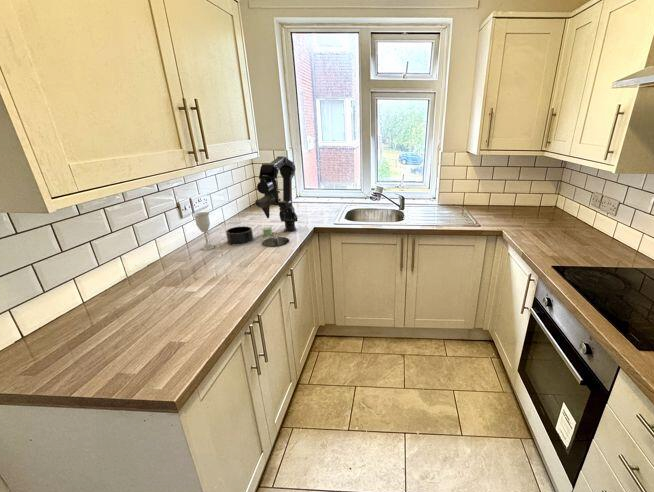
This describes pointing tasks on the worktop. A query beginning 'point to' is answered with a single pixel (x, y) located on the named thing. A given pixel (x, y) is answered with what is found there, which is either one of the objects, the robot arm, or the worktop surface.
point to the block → (267, 231)
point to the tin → (239, 235)
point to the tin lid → (275, 241)
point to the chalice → (203, 227)
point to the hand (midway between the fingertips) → (275, 219)
